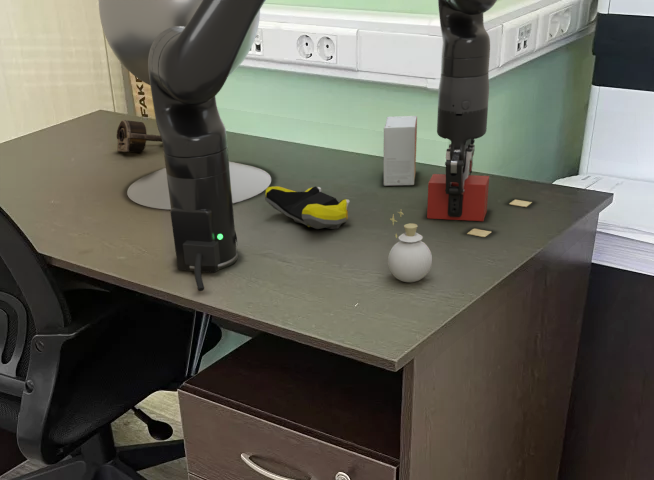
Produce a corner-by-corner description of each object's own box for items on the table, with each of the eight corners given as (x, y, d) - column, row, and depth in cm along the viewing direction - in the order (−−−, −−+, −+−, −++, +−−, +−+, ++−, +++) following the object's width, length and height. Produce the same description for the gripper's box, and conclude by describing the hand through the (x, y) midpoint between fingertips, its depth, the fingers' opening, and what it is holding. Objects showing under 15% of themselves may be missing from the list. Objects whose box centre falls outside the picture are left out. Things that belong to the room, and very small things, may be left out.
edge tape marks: (484, 237, 133) (484, 236, 133) (466, 233, 134) (466, 233, 134) (532, 202, 144) (532, 202, 144) (515, 200, 145) (515, 199, 145)
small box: (414, 186, 155) (415, 126, 149) (382, 186, 156) (383, 127, 151) (416, 172, 162) (417, 115, 156) (386, 172, 163) (386, 115, 157)
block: (483, 221, 138) (485, 184, 135) (427, 218, 141) (428, 182, 138) (486, 211, 142) (489, 175, 139) (431, 208, 145) (433, 173, 141)
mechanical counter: (112, 122, 189) (108, 123, 180) (169, 110, 189) (168, 110, 180) (120, 155, 191) (116, 158, 182) (176, 144, 192) (175, 146, 182)
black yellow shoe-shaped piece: (310, 243, 136) (361, 227, 140) (308, 209, 133) (361, 194, 137) (261, 217, 147) (309, 204, 151) (258, 186, 144) (308, 173, 148)
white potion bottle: (408, 293, 118) (409, 223, 113) (372, 276, 123) (372, 209, 118) (440, 280, 121) (443, 212, 115) (404, 265, 126) (405, 198, 121)
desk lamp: (223, 154, 181) (200, -92, 157) (300, 184, 161) (287, -93, 137) (103, 185, 169) (59, -77, 145) (170, 221, 149) (132, -76, 125)
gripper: (445, 92, 139) (441, 195, 148) (430, 115, 128) (426, 225, 137) (493, 92, 136) (486, 197, 145) (481, 116, 125) (474, 227, 134)
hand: (457, 210), depth 141 cm, fingers closed on block, 4 cm apart
